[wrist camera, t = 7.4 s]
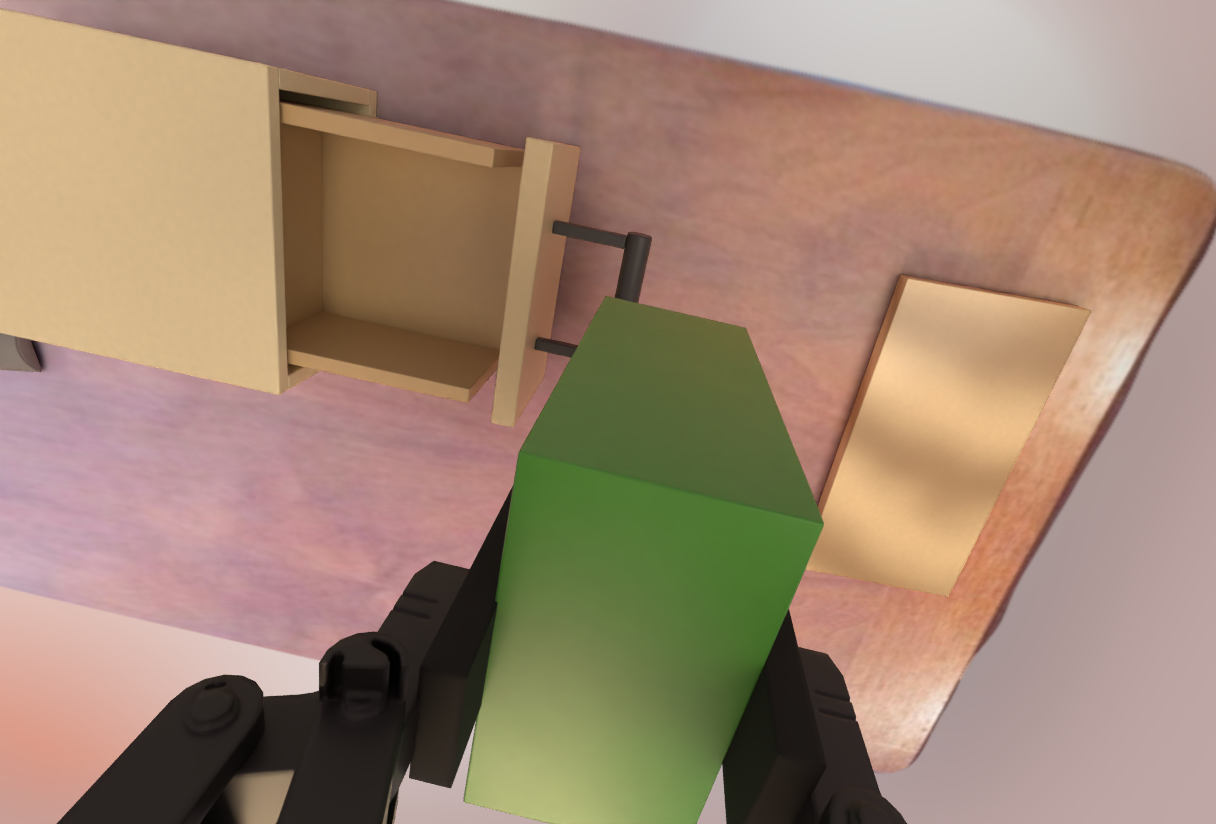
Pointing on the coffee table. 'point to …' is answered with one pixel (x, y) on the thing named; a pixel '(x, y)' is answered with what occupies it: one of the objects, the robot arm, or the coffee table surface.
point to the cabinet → (147, 199)
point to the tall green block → (639, 575)
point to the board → (938, 430)
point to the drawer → (429, 254)
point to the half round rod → (17, 354)
